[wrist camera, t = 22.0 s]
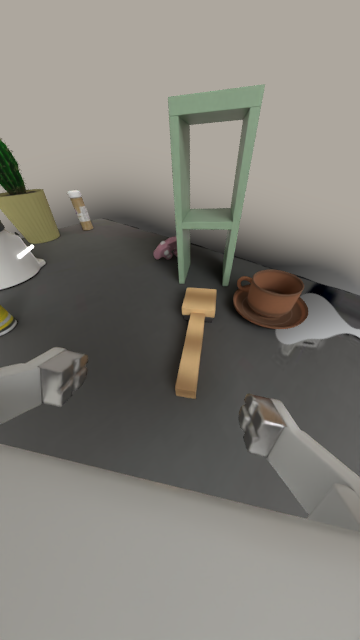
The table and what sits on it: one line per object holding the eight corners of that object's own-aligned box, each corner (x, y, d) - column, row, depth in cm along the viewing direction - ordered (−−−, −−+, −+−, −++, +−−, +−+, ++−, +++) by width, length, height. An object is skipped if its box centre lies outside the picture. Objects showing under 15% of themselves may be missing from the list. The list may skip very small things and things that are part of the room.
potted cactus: (57, 229, 74) (3, 128, 53) (71, 236, 67) (16, 120, 46) (17, 240, 67) (-64, 126, 45) (29, 249, 59) (-62, 116, 38)
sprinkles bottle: (80, 229, 73) (64, 191, 63) (90, 226, 75) (75, 189, 66) (86, 231, 71) (70, 191, 61) (95, 228, 73) (81, 190, 64)
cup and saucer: (226, 326, 28) (233, 296, 24) (235, 287, 36) (241, 260, 32) (308, 343, 25) (332, 313, 20) (298, 296, 33) (314, 267, 28)
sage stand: (228, 286, 36) (265, 84, 18) (179, 283, 38) (167, 96, 20) (227, 265, 43) (253, 103, 25) (185, 263, 45) (182, 111, 27)
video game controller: (159, 268, 47) (162, 249, 41) (151, 256, 48) (153, 236, 42) (187, 258, 51) (194, 239, 44) (179, 247, 52) (185, 227, 46)
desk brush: (208, 401, 20) (210, 391, 18) (163, 393, 21) (160, 383, 18) (214, 302, 33) (216, 289, 31) (187, 299, 34) (187, 287, 32)
